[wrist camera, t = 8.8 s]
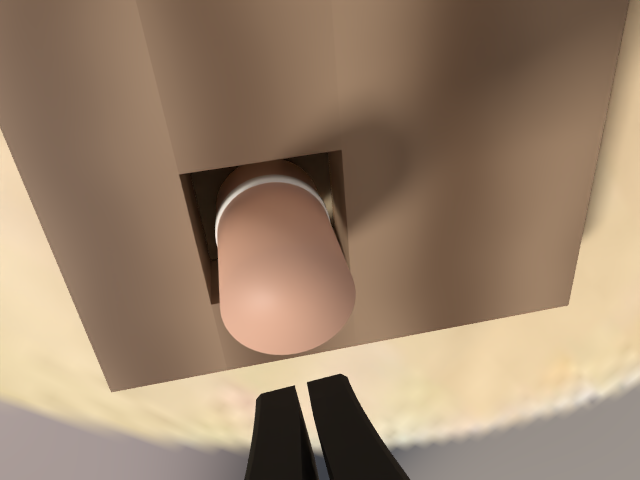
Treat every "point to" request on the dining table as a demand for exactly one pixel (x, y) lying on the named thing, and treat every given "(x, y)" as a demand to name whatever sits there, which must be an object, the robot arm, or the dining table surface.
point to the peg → (279, 261)
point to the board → (304, 139)
